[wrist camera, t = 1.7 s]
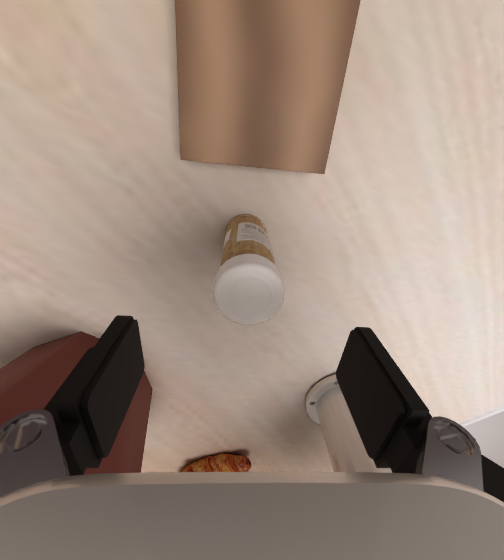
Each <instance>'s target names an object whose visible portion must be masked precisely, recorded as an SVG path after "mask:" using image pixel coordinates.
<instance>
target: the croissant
mask: <svg viewBox="0 0 504 560" xmlns="http://www.w3.org/2000/svg"><path fill="white" fill-rule="evenodd" d="M250 468H251V462H250V460H249V459H248V458H247V457H245V456H241V455H236V456H235V455H231V454H219V455H215V456H208V457H204V458H202V459H200V460H199V461H196V462H193V463H191V464H190V465H188V466H186V467H185V468H184V469H183V470H182V471H181V472H247V471H248V470H249V469H250Z"/></svg>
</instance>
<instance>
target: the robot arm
mask: <svg viewBox="0 0 504 560" xmlns="http://www.w3.org/2000/svg"><path fill="white" fill-rule="evenodd" d="M143 373H144V359H143V353H142V346H141V340H140V333H139V327H138V321H137V320H134V319H133V317H132V316H119V315H118V316H116V317H115V318H114V320H113V321H112V322H111V324H110V325H109V327H108V328H107V329H106V331H105V332H104V334H103V335H102V336H101V338H100V339H99V340H98V342H97V343H96V345H95V346H94V347H91V348H89V349H88V350H87V351H86V353H85V354H84V355H83V357H82V358H81V359H80V361H79V362H78V363H77V365H76V366H75V367H74V369H73V370H72V371H71V373H70V374H69V375H68V377H67V378H66V379H65V381H64V382H63V383H62V385H61V386H60V388H59V389H58V390H57V392H56V393H55V394H54V396H53V397H52V398H51V400H50V401H49V402H48V404H47V405H46V406H45V408H44V409H34V410H29V411H26V412H23V413H20V414H18V415H16V416H15V417H13V418H11V419H9V420H8V421H7V422H5V423H4V424H3V425H1V426H0V560H504V468H502V467H501V466H499V465H498V464H496V463H494V462H493V461H491V460H489V459H488V458H486V457H485V456H483V455H481V451H480V447H479V445H478V443H477V442H476V440H475V439H474V438H473V436H472V435H471V434H470V433H469V432H468V431H467V430H466V429H465V428H463V427H462V426H461V425H459V424H458V423H456V422H455V421H452V420H450V419H448V418H445V417H440V416H439V417H433V418H432V416H431V415H430V413H429V410H428V408H427V407H426V405H425V404H424V403H423V401H422V400H421V398H420V397H419V396H418V394H417V393H416V391H415V390H414V388H413V387H412V386H411V384H410V383H409V381H408V380H407V379H406V377H405V376H404V374H403V373H402V372H401V370H400V369H399V367H398V366H397V365H396V363H395V362H394V360H393V359H392V358H391V356H390V355H389V353H388V352H387V350H386V349H385V348H384V346H383V345H382V343H381V342H380V341H379V339H378V338H377V336H376V335H375V334H374V332H373V331H372V329H371V328H366V327H356V328H355V329H354V330H352V331H351V332H350V335H349V337H348V340H347V343H346V346H345V349H344V351H343V354H342V357H341V360H340V362H339V365H338V368H337V371H336V374H334V375H331V376H329V377H326V378H325V379H323V380H321V381H320V382H318V383H317V384H316V385H315V386H314V387H313V388H312V389H311V390H310V391H309V393H308V394H307V397H306V402H305V405H306V410H307V413H308V416H309V417H310V418H311V419H312V420H313V421H314V422H315V423H317V424H319V425H321V428H322V431H323V435H324V438H325V442H326V445H327V449H328V452H329V456H330V459H331V463H332V466H333V470H334V472H146V473H106V474H89V475H84V473H85V470H86V468H99V465H100V463H101V461H102V459H103V458H106V457H107V456H108V455H109V453H110V451H111V449H112V446H113V444H114V442H115V439H116V437H117V434H118V432H119V430H120V427H121V425H122V423H123V420H124V418H125V416H126V413H127V411H128V408H129V406H130V404H131V401H132V399H133V397H134V394H135V392H136V390H137V387H138V385H139V382H140V380H141V378H142V375H143Z"/></svg>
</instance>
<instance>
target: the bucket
mask: <svg viewBox="0 0 504 560" xmlns="http://www.w3.org/2000/svg"><path fill="white" fill-rule="evenodd" d="M98 340H99V338H96V337H94V336H91V335H89V334H86V333H84V332H79V333H76V334H73V335H70V336H67V337H64V338H61V339H58V340H55V341H52V342H48V343H45V344H42V345H39V346H36V347H34V348H32V349H31V350H29V351H27V352H26V353H24V354H23V355H21V356H20V357H18V358H17V359H15V360H13V361H12V362H10V363H9V364H7V365H6V366H4V367H2V368H1V369H0V426H1V425H3V424H4V423H5V422H7V421H8V420H9V419H11V418H13V417H15V416H16V415H18V414H20V413H23V412H26V411H29V410H34V409H44V408H45V406H46V405H47V404H48V402H49V401H50V400H51V398H52V397H53V396H54V394H55V393H56V392H57V390H58V389H59V388H60V386H61V385H62V383H63V382H64V381H65V379H66V378H67V377H68V375H69V374H70V373H71V371H72V370H73V369H74V367H75V366H76V365H77V363H78V362H79V361H80V359H81V358H82V357H83V355H84V354H85V353H86V351H87V350H88V349H89V348H91V347H94V346H95V345H96V343H97V342H98ZM151 395H152V387H151V385H150V383H149V381H148V378H147V376H146V374H145V371H144V373H143V375H142V378H141V380H140V382H139V385H138V387H137V390H136V392H135V394H134V397H133V399H132V401H131V404H130V406H129V408H128V411H127V413H126V416H125V418H124V420H123V423H122V425H121V427H120V430H119V432H118V434H117V437H116V439H115V442H114V444H113V446H112V449H111V451H110V453H109V455H108V456H107V457H106V458H103V459H102V461H101V463H100V465H99V468H86V470H85V473H84V475H89V474H106V473H141V466H142V459H143V452H144V445H145V438H146V431H147V424H148V417H149V409H150V402H151Z"/></svg>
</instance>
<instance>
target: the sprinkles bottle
mask: <svg viewBox="0 0 504 560" xmlns="http://www.w3.org/2000/svg"><path fill="white" fill-rule="evenodd" d="M213 295H214V301H215V304H216V306H217V308H218V310H219V311H220V313H221V314H222V315H224V316H225V317H226V318H227V319H229V320H231V321H233V322H236V323H239V324H246V325H251V324H257V323H261V322H264V321H266V320H268V319H270V318H271V317H272V316H274V315H275V314H276V313H277V311H278V310H279V309H280V307H281V305H282V303H283V300H284V287H283V282H282V278H281V275H280V273H279V270H278V269H277V267H276V266H275V262H274V257H273V253H272V250H271V247H270V243H269V240H268V237H267V233H266V228H265V226H264V224H263V223H262V222H261V220H259V219H258V218H257V217H255V216H252V215H248V214H247V215H240V216H237V217H235V218H233V219H232V220H231V221H230V222H229V224H228V226H227V228H226V232H225V240H224V246H223V255H222V261H221V267H220V269H219V270H218V272H217V275H216V279H215V284H214V292H213Z"/></svg>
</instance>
